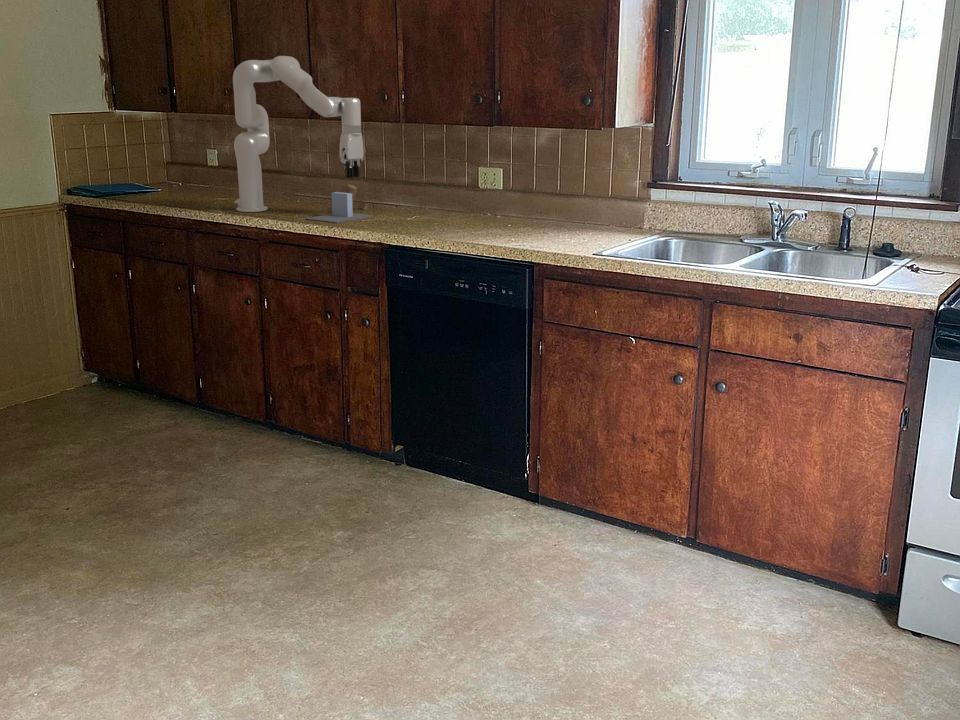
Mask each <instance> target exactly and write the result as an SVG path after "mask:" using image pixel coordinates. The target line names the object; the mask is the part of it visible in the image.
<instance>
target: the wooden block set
mask: <svg viewBox="0 0 960 720" xmlns="http://www.w3.org/2000/svg"><path fill="white" fill-rule="evenodd" d="M345 188H346V189H345V192H344V193H352V204H353V203H354V200H355V197H356V194H357V191H358V187H357V186H355V185H354V184H349V183H348V184H347V186H346V187H345ZM358 208H360V209H361V210H362V211H365V210H366V211H367V210H368V209H369V208H368V204H367V202H365V201H363V200H361V199H360V201H359V203H358Z"/></svg>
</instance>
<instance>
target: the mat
mask: <svg viewBox="0 0 960 720" xmlns="http://www.w3.org/2000/svg"><path fill="white" fill-rule="evenodd" d="M373 217H374V215H371V214H363V213H354V212H353V216H351V217H342V216H333V215H332V213H330V214H323V215H318V216H313V217H312V216H311V217H306V218H305V219H308V220H307V221H313V220H318V221H317V222H322V221H328V222H327V223H330V222H334V223H333V224H340V223H339V222H341V223H346V222H351V220H352V221H356V220H361V219H367V218H373ZM305 219H304V220H305ZM345 221H346V222H345Z"/></svg>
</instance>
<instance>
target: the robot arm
mask: <svg viewBox="0 0 960 720" xmlns="http://www.w3.org/2000/svg"><path fill="white" fill-rule="evenodd" d="M300 65H301V64H300V63H299V61H298V60H297V58H295V57H293V56H289V55H278V56H275V57H274V58H273V59H265V60H262V59H260V60H259V59H248V60H245V61H242V62H241V63H239V64H238V65H237V66H236V68H235V69H234V71H233V75H232V85H233V87H232V88H233V99H234V100H233V101H234V115H235V122H236V125H237V126H239V127H240V128H241V129H247V131H244V132H241V133H239V134H238V135H236V137H235V139H234V142H233V148H234V152H235V154H234V155H235V158H236V163H237V164H236V167H237V179H238V195H239V198H237V199H236V200H234V204H235V205H237V207H236V211H237V212H243V213H245V212H246V213H256V212H264V211H268V206H265V205H264V197H263V196H264V195H263V193H264V192H263V191H264V190H263V177H262V176H263V175H262V164H261V159H260V156H259V155H262V154H264V153H266V152H267V151H268V149H269V147H270V142H271V141H270V126H269V125H270V124H269V114H268V112H267V111H266V109H265V108H264V107H263V105H260V104H257V97H256V96H257V93H256V89H255V87H254V83H271V82H277V81H281V82H282V83H284V84H285V85H286V86H288V87H289V88H290V89H292V91H294V92H295V93H297V94H298V96H299V97H300V99H301V100H302V101H303V103H305V104H306V105H307V106H308V107H309V108H311V110H312V111H314V112H316V113H317V114H318V115H320V116H322V117H324V118H333V117H334V118H335V117H341V134H340V137H339V155H338V156H339V159H340V162H341V163H342V164H343V165H344V168H345V176H346V179H353V178H360V167H361V164H362V162H363V161H364V160H365V157H364V155H365V154H364V141H363V135H362V118H361V117H362V115H361V114H362V113H361V100H360V98H357V97H339V96H327V95H326V94H324V93H323V92H321V90H319V89H318V88H317V87H316V86H315V85H314V83H313V77H312V76H311V75H310V74H309V73H308V72H306V71H305V70H303V69H302V68H301V66H300Z"/></svg>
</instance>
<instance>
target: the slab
mask: <svg viewBox="0 0 960 720" xmlns="http://www.w3.org/2000/svg"><path fill="white" fill-rule="evenodd" d="M353 209H354V208H353V203H352V193H345V192H341V191H335V192H331V211H332V212H331V214H332V215H333V216H342V217H351V216H353V213H354V212H353Z"/></svg>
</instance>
